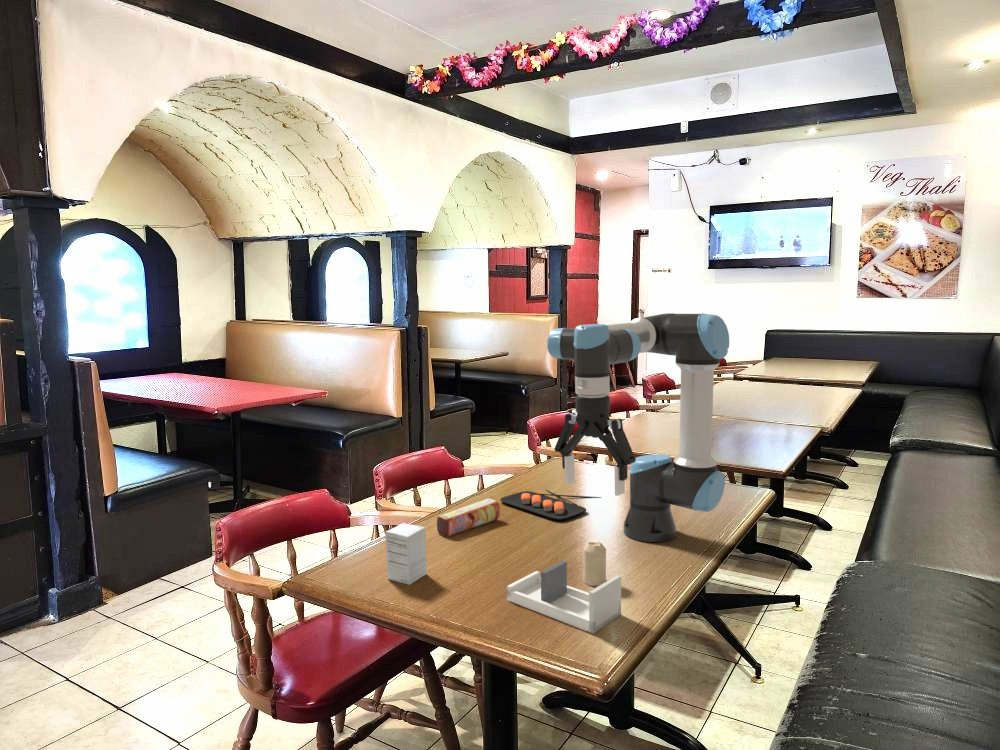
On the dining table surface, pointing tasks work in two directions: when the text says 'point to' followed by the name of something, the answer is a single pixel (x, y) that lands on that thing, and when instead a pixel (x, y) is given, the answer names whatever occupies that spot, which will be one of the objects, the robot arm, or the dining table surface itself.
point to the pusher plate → (554, 582)
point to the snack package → (468, 517)
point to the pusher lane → (571, 602)
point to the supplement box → (406, 553)
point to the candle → (594, 564)
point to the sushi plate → (545, 504)
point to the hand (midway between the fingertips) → (594, 488)
